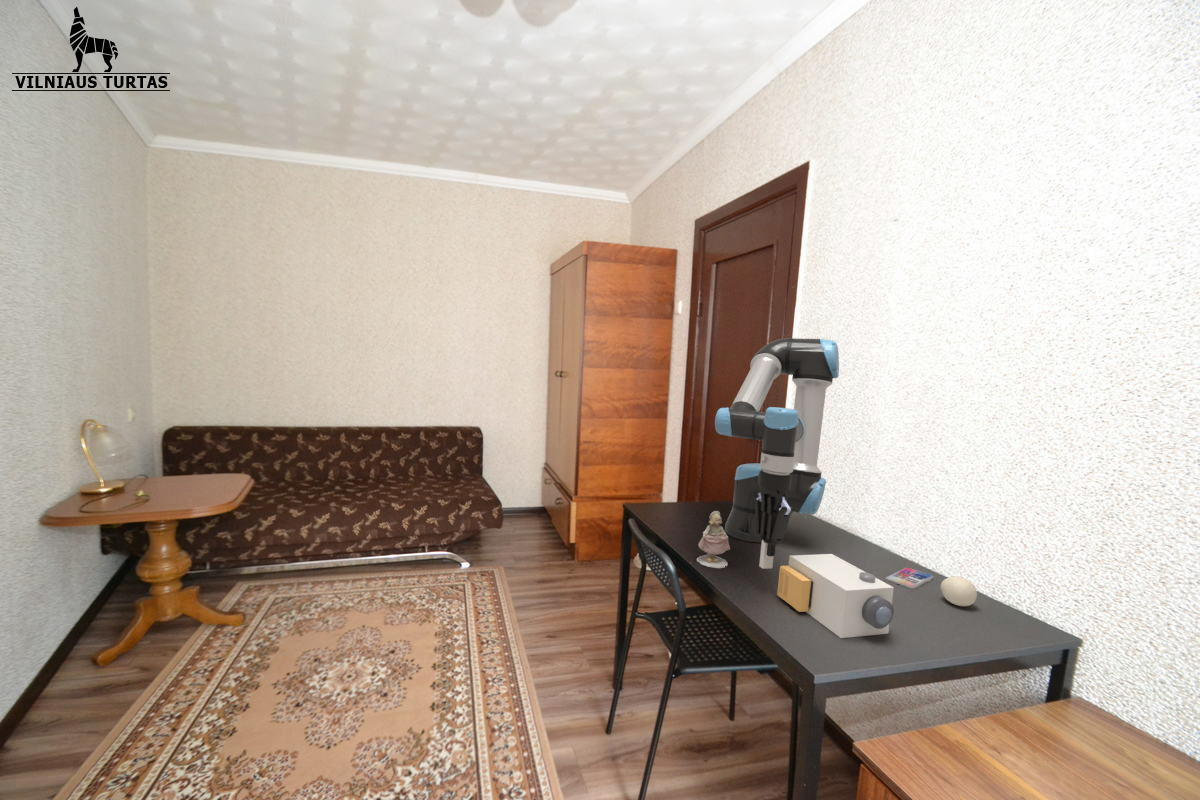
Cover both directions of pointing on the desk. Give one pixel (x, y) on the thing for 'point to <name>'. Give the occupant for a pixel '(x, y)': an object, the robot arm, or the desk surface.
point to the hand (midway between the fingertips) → (765, 567)
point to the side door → (794, 588)
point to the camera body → (845, 596)
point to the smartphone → (909, 578)
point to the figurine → (714, 543)
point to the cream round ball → (959, 591)
